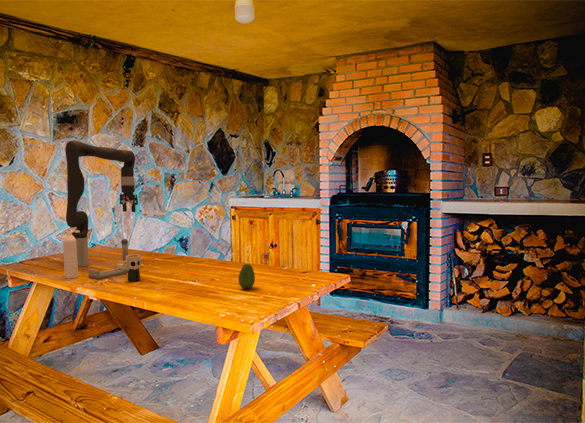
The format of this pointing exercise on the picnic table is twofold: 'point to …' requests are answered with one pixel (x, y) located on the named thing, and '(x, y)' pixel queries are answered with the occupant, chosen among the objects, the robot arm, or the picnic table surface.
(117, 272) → the rail board
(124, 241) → the carriage
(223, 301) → the picnic table surface
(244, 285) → the fruit
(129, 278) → the toy figurine
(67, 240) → the water bottle
